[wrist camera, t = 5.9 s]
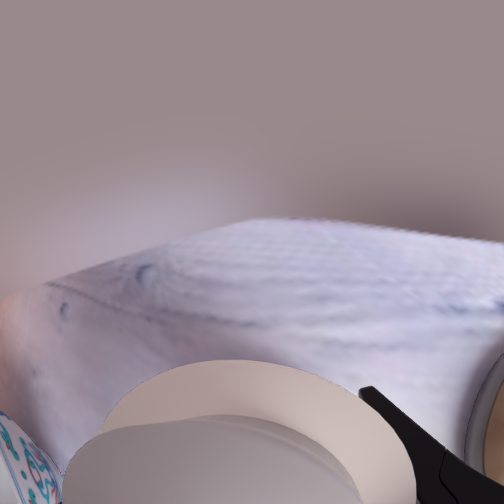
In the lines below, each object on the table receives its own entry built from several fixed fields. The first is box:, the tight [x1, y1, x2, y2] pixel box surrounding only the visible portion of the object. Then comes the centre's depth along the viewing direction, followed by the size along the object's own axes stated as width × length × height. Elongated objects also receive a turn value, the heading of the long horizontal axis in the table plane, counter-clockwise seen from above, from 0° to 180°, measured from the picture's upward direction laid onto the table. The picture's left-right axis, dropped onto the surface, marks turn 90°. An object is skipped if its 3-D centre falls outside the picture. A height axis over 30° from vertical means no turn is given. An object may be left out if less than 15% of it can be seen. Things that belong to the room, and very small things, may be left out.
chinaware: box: [0, 411, 63, 504], centre depth 9 cm, size 15×15×8 cm
